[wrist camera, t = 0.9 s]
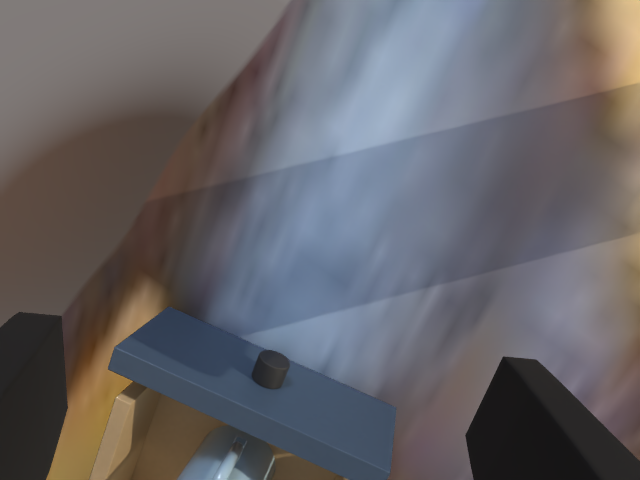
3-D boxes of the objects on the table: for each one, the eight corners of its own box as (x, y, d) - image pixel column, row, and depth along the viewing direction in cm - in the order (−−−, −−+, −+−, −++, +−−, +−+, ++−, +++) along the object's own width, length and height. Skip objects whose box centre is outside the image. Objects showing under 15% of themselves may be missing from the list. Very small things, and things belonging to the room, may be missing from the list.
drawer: (175, 286, 31) (121, 324, 26) (405, 388, 30) (401, 450, 25) (104, 499, 35) (43, 571, 30) (306, 596, 34) (283, 690, 28)
